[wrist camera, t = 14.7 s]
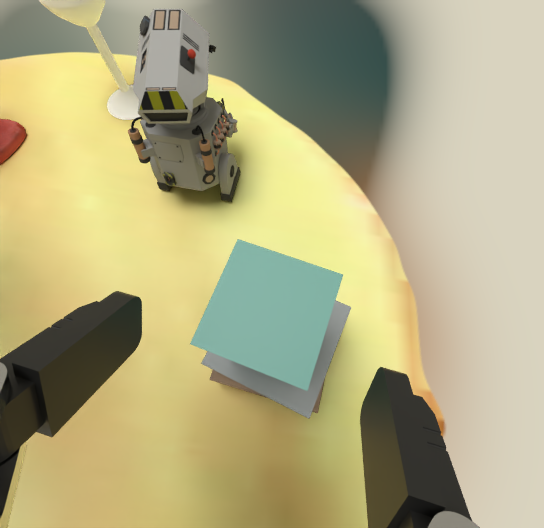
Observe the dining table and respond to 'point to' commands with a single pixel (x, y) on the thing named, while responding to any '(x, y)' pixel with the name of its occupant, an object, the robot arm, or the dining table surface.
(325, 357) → the gray top block
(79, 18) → the champagne flute
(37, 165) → the dining table surface
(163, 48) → the figurine
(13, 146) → the stacking bear
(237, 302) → the green block
